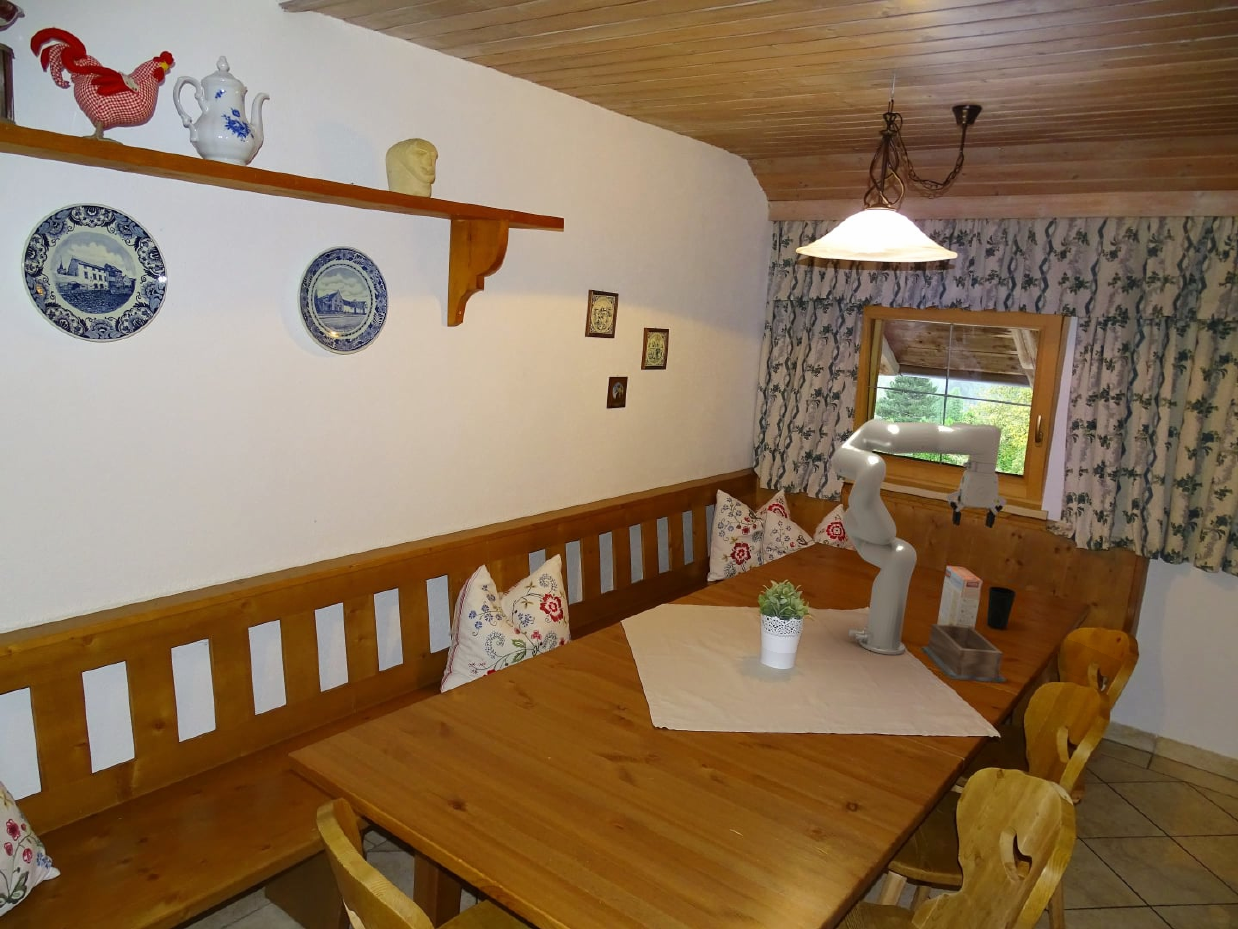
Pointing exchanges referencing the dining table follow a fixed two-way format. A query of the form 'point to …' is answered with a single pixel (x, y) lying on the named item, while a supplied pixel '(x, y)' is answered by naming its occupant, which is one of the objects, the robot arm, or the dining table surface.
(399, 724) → the dining table surface
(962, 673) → the box stand
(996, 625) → the cup
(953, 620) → the cracker box
